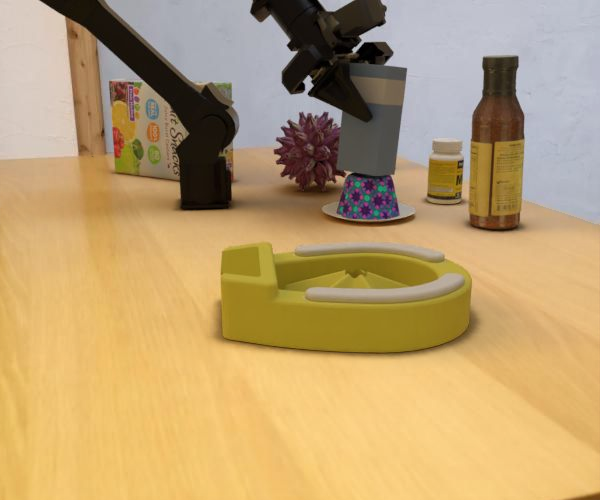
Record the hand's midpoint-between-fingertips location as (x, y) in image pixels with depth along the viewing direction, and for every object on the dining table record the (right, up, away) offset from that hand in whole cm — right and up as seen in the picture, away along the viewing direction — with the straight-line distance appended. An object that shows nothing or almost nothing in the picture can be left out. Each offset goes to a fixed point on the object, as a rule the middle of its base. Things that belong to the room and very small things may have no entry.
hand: (380, 118), depth 97 cm
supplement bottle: (+10, -9, +13) cm, 18 cm away
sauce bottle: (+14, -13, 0) cm, 19 cm away
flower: (-8, -6, +20) cm, 23 cm away
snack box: (-30, -3, +30) cm, 43 cm away
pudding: (-1, -12, +5) cm, 13 cm away
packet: (-2, -6, +3) cm, 7 cm away
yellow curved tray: (-6, -24, -30) cm, 39 cm away
